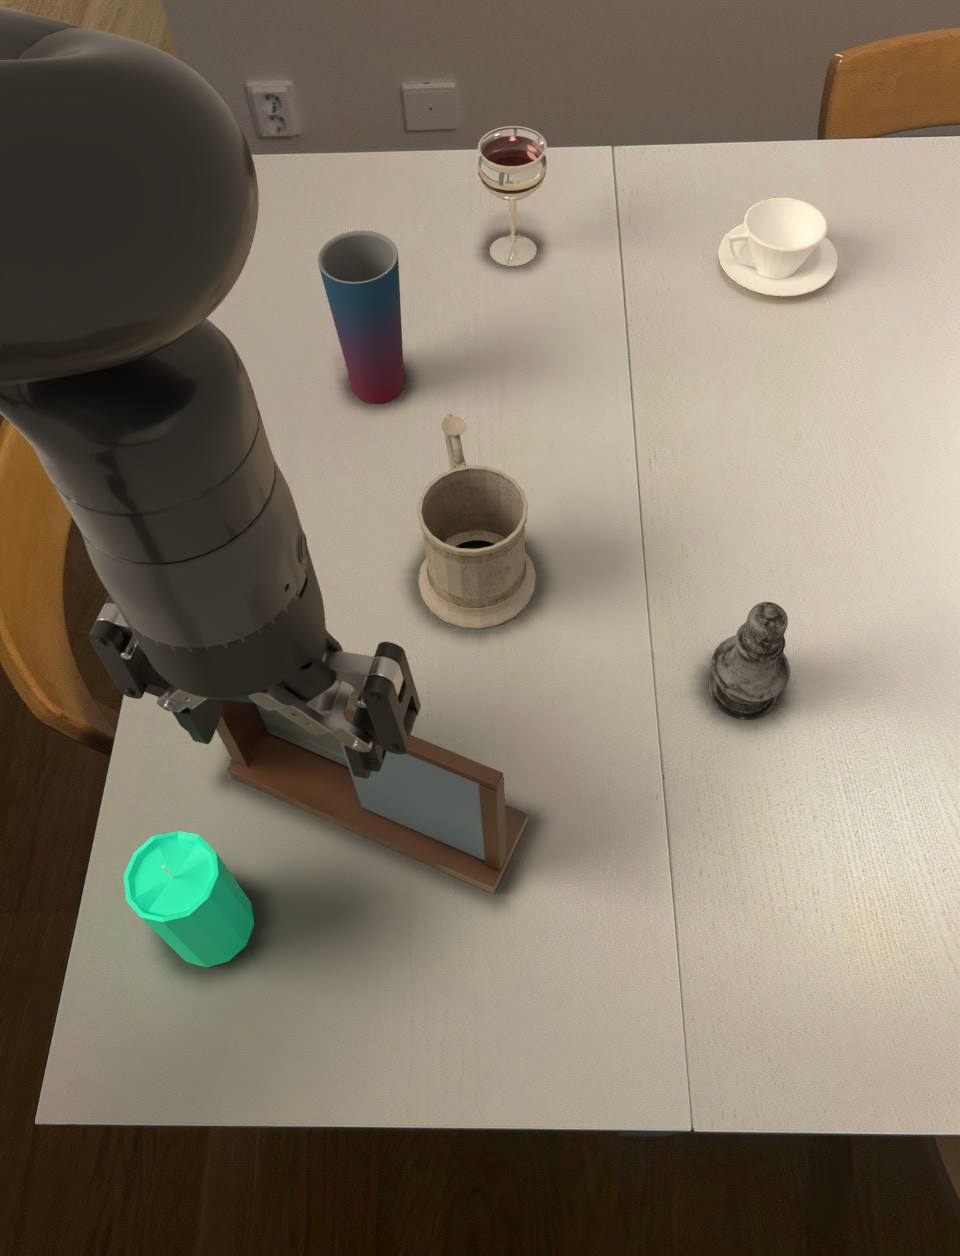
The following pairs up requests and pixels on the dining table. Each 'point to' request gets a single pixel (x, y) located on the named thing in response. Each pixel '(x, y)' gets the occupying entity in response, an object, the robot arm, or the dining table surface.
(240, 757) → the screen frame
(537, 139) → the wineglass
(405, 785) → the glass door
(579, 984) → the dining table surface
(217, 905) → the candle
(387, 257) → the cup
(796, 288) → the teacup
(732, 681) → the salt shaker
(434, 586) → the mug
